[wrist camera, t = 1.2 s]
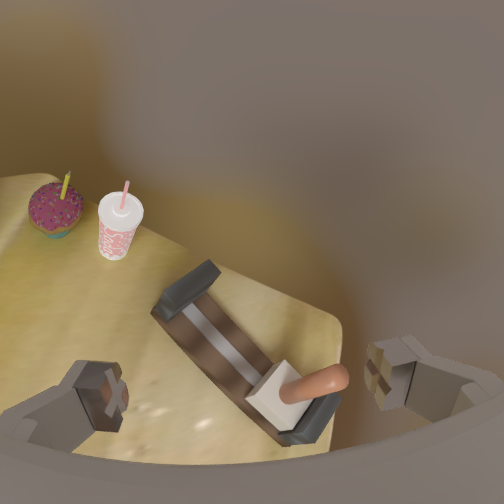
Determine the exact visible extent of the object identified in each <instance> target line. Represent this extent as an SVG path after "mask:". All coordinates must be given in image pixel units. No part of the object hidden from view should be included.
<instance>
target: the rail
mask: <svg viewBox="0 0 504 504" xmlns="http://www.w3.org/2000/svg"><path fill="white" fill-rule="evenodd" d="M220 274H221V272H220V270H219V269H218V268H217V267H216V266H215V265H214V264H213V263H212V262H211V261H210V259H208V260H207V261H206V262H204V263H203V264H201V265H200V266H198V267H197V268H196V269H194V270H193V271H191V272H190V273H188V274H187V275H186V276H184V277H183V278H181V279H180V280H179V281H177V282H176V283H174V284H173V285H171V286H170V287H169V288H167V289H166V290H164V292H163V294H162V296H161V298H160V300H159V302H158V304H157V305H156V306H155V307H154V308H153V309H152V311H151V313H150V314H151V315H152V316H153V317H154V318H155V319H156V321H157V322H158V323H159V324H160V325H161V326H162V328H163V329H164V330H165V331H166V332H167V333H168V334H169V336H170V337H171V338H172V339H173V340H174V341H175V342H176V343H177V345H178V346H179V347H180V348H181V349H182V350H183V351H184V352H185V353H186V354H187V355H188V357H189V358H190V359H191V360H192V361H193V362H194V363H195V364H196V365H197V366H198V367H199V368H200V369H201V370H202V371H203V372H204V373H205V375H206V376H207V377H208V378H209V379H210V380H211V381H212V382H213V383H214V384H215V385H216V386H217V387H218V388H219V389H220V390H221V391H222V392H223V393H224V394H225V395H226V396H227V397H228V398H229V399H230V400H231V401H233V402H234V403H235V404H236V405H237V406H238V407H239V408H240V409H241V410H242V411H243V412H244V413H245V414H246V415H247V416H248V417H249V418H250V419H252V420H253V421H254V422H255V423H256V424H257V425H258V426H259V427H260V428H261V429H263V430H264V431H265V432H266V433H267V434H268V435H269V436H270V437H272V438H273V439H274V440H275V441H276V442H277V443H279V444H280V445H281V446H282V447H290V446H291V445H299V444H311V443H316V441H317V439H318V438H319V436H320V435H321V433H322V432H323V430H324V428H325V427H326V425H327V424H328V422H329V420H330V419H331V417H332V415H333V414H334V412H335V410H336V409H337V407H338V405H339V404H340V402H341V400H342V397H341V396H340V395H338V393H337V392H333V393H330V394H327V395H323V396H320V397H317V398H314V399H313V401H312V402H311V404H310V405H309V406H308V408H307V409H306V411H305V412H304V414H303V415H302V417H301V418H300V420H299V421H298V422H297V424H296V425H295V427H294V428H293V429H292V430H285V431H279V430H278V429H277V428H276V427H275V426H274V425H273V424H272V423H270V422H269V421H268V420H267V419H266V418H265V417H264V416H263V415H262V414H261V413H260V412H259V411H257V410H256V409H255V408H254V407H253V406H252V405H251V404H250V403H249V402H248V401H247V400H246V399H245V397H246V396H247V395H248V394H249V393H250V392H251V390H252V389H253V388H254V387H255V386H256V385H257V383H258V382H259V381H260V380H261V379H262V378H263V376H264V375H265V374H266V373H267V372H268V371H269V369H270V368H271V367H272V366H273V365H274V364H273V363H272V362H271V361H270V360H269V359H268V358H267V357H266V356H265V355H264V354H263V353H262V352H261V351H260V350H259V348H258V347H257V346H256V345H255V344H254V343H253V342H252V341H251V340H250V339H249V338H248V337H247V336H246V335H245V334H244V333H243V332H242V331H241V330H240V329H239V328H238V327H237V325H236V324H235V323H234V322H233V321H232V320H231V319H230V318H229V317H228V316H227V315H226V314H225V313H224V312H223V310H222V309H221V308H220V307H219V306H218V305H217V304H216V303H215V302H214V301H213V300H212V298H211V297H210V296H209V295H208V294H207V293H206V291H207V290H208V289H209V287H210V286H211V285H212V284H213V282H214V281H215V280H216V279H217V277H218V276H219V275H220Z"/></svg>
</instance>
